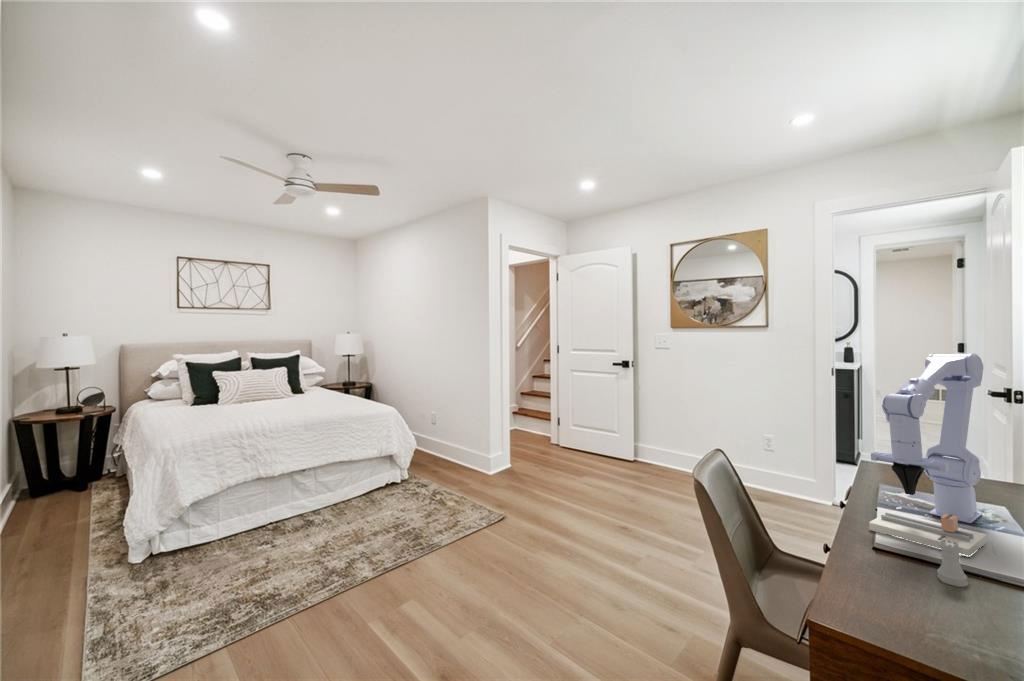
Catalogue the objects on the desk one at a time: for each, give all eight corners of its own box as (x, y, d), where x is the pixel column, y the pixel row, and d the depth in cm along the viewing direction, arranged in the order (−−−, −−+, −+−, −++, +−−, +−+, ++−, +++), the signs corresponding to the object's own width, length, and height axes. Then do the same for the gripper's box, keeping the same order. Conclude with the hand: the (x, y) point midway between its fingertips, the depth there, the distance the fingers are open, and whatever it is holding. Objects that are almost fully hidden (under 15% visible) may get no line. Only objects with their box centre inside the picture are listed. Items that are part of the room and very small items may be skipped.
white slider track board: (889, 517, 114) (888, 506, 114) (986, 542, 99) (985, 530, 99) (869, 529, 109) (868, 518, 109) (969, 558, 93) (968, 544, 93)
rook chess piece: (975, 588, 83) (972, 548, 83) (948, 587, 83) (945, 547, 84) (956, 576, 87) (953, 537, 87) (931, 575, 88) (928, 537, 88)
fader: (946, 529, 101) (945, 512, 101) (958, 532, 100) (957, 515, 100) (942, 533, 100) (940, 516, 100) (953, 536, 98) (952, 518, 98)
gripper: (864, 439, 112) (868, 489, 111) (939, 448, 99) (944, 505, 99) (875, 434, 115) (879, 483, 115) (949, 443, 102) (954, 498, 102)
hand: (910, 493), depth 107 cm, fingers closed
